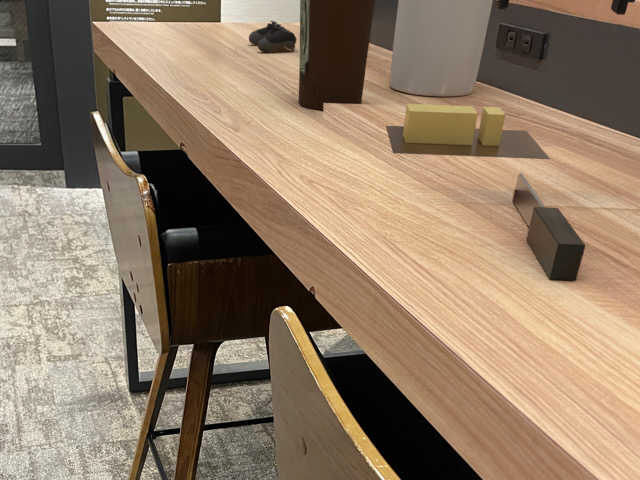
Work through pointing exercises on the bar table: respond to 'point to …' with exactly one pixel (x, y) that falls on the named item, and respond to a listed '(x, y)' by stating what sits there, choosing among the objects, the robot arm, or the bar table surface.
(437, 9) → the utensil holder
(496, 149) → the cutting board
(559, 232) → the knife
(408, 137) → the butter block
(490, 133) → the butter slice
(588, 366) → the bar table surface
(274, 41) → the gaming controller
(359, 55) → the olive oil
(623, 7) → the robot arm
